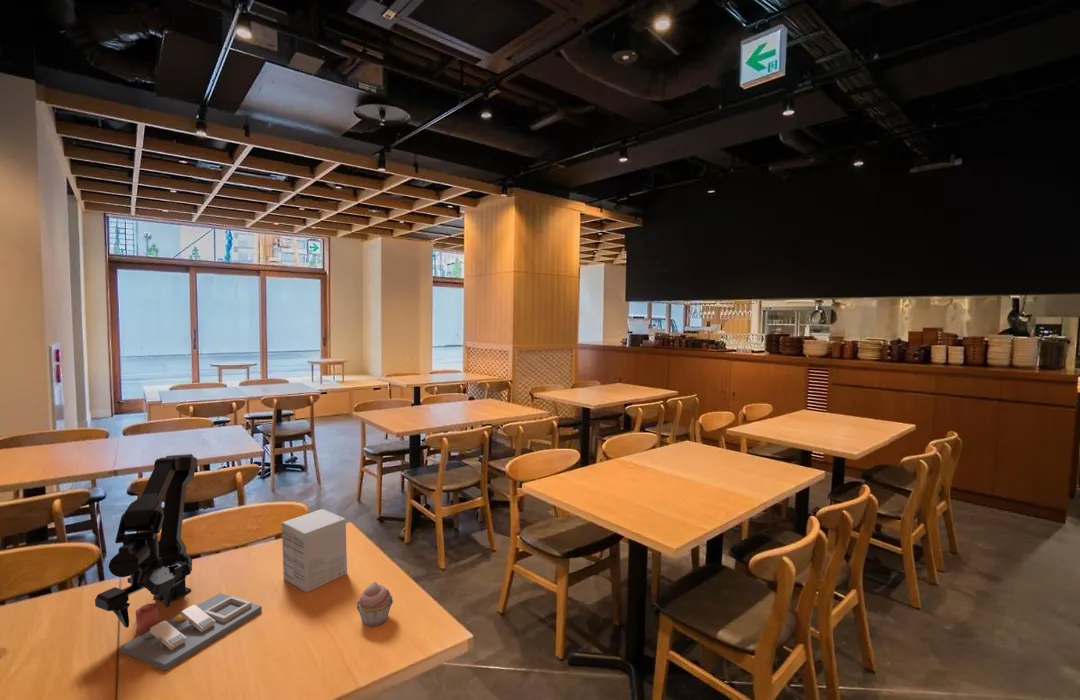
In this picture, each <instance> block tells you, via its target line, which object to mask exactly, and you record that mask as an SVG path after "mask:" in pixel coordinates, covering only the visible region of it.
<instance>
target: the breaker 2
mask: <svg viewBox="0 0 1080 700" xmlns="http://www.w3.org/2000/svg"><path fill="white" fill-rule="evenodd" d="M180 614H181V616H182V617H183V618H185V619H186V620H187V621H188V622H189V623H190V624H192V625H193V626H194V627H196V628H197V629H198V630H199V631H201V632H203V631H205V630H207V629H208V628H210V627H212V626H213V625H215V620H214V619H212V618H211V617H210V616H209V615H207V613H206V612H204V611H202V610H201V609H200V608H199V607H197V605H196V604H192V605H191V606H188V607H187V608H185V609H183V610H181V611H180Z"/></svg>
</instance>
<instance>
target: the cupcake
mask: <svg viewBox="0 0 1080 700" xmlns="http://www.w3.org/2000/svg"><path fill="white" fill-rule="evenodd" d="M393 598H394V596H393V595H391V592H390V590H389V589H388V588H387V587H385V586H384V585H381V584H378V582H376V581H374V582H373V583H369V585H368V586H367V587H365V589H364V591H363V592H362V593H361V594H360V596H359V600H358V601H357V602H355V605H356V610H357V611H358V613H359V616H360V620H361V622H362V624H363V625H364V626H366V627H371V628H373V627H379V626H380V625H382V624H384V623H385V622H386V621H387V620H388V617H389V615H390V614H389V613H390V609H391V607H392V605H393V603H394V600H393Z"/></svg>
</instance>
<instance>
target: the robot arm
mask: <svg viewBox="0 0 1080 700" xmlns="http://www.w3.org/2000/svg"><path fill="white" fill-rule="evenodd" d="M197 468H198V458H197V457H195V456H194V455H193V454H192V453H190V454H188V453H187V454H186V453H185V454H174V455H173V454H171V455H166V456H165V457H159V458H156V459H155V461H154V463H153V470H152V472H151V474H150V476H149V478H148V480H147V482H146V483H145V486H144V488H143V491H142V493H141V495H140V496H139V497H138V498H137V499H135V500H134V501H132V502H131V503H130V504H129V505H128V507H127V508H126V510H125V512H124V513H122V515H121V517H120V520H119V524H118V528H117V533H116V536H115V540H114V543H115V544H122V545H121V546H120V547H119V548H118V553H116V554H115V555H114V556H113V557H112V558H111V559H110V561H109V564H108V570H109V572H110V573H111V575H113V576H115V577H119V578H126V577H128V578H127V583H128V584H130V585H129V586H127V587H125V588H121V589H120V588H119V587H116V586H114V587H111V588H110V589H107V590H104V591H102V592H101V593H98V594H97V595H96V596H95V599H94V606H95V607H97V608H99V609H102V610H104V611H106V612H111V611H112V612H113V613H114V615H115V616H116V617H117V619H118V620H119V621H120V623H121V624H122V625H123V627H124V628H127V629H128V628H129V627H130V617H129V609H128V608H129V606H130V605H131V603H129V602H128V601H130V600H129V599H130V598H129V596H130V595H132V594H135V593H137V592H139V591H141V590H144V589H146V590H147V591H148V592H150V594H151V595H153V598H154V599H157V600H159V601H162V602H163V603H164V606H165V608H169V607H170V605H171V602H172V601H174V600H176V599H177V598H178V599H179V598H180V597H182V596H184V595H186V594H188V593H190V592H192V588H190V587H187V586H186V578H187V576H188V575H191V573H192V571H193V558H192V557H191V556H190V555H189V554H188V553H187V546H186V544H185V542H184V540H183V539H182V530H183V529H182V528H183V520H184V511H185V509H184V508H185V503H186V500H185V499H186V491H187V486H188V484H189V483H190V482H191V480H192V479H193V478H194V476H195V473H196V472H195V471H196V470H197ZM163 502H164V505H163V508H162V503H163ZM126 532H127V533H126ZM159 534H160V537H159Z"/></svg>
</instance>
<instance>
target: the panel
mask: <svg viewBox="0 0 1080 700" xmlns="http://www.w3.org/2000/svg"><path fill="white" fill-rule="evenodd" d="M196 606H197V607H199V608H200V609H201V610H202V611H204V612H206V613H207V615H209V616H210V617H211V618H212V619H214V620H215V625H213V626H212V627H210V628H208V629H207V630H205V631H203V632H201V631H199V630H198V629H197V628H196V627H194V626H193V625H192V624H190V623H189V622H188V621H187V620H186V619H185V618H183V617H182V616H181V613H180V614H178V615H176V616H175V617H173V618H170V619H168V620H166V621H167V622H168V623H169V624H171V625H172V626H173V627H174V628H177V629H178V631H179V632H180V633H181V634H183V635H184V636H185V637H186V642H184V643H183V644H181V645H179V646H177V647H176V648H174V649H172V650H170V649H169V648H168V647H167V646H166V645H164V644H163V643H162V642H161V641H158V639H157V638H156V637H155V636H154V635H153V634H152V633H150V631H148V632H146V633H144V634H140V635H139V636H137V637H134V638H133V639H131V640H129V641H127V642H126V643H123V644H122V645H120V652H121V653H123V654H124V655H127V656H130V657H131V658H134V659H137V660H139V661H141V662H143V663H146V664H148V665H150V666H153V667H155V668H157V669H159V670H162V671H164V672H166V671H168V670H169V669H170V668H173V667H174V666H177V664H179V663H180V662H182V661H184V660H186V659H187V658H189V657H190V656H193V655H194V654H195V653H197V652H199V651H200V650H202V649H203V648H205V647H207V646H208V645H209V644H211V643H213V642H215V641H216V640H218V639H219V638H221V637H223V636H224V635H226V634H228V633H229V632H231V631H232V630H234V629H236V628H238V627H240V626H241V625H242V624H244V623H246V622H247V621H249V620H251V619H252V618H254V617H255V616H257V615H259V614H260V613H262V609H263V607H262V605H259V604H257V603H253V602H252V601H248V600H245V599H243V598H239V597H236V596H233V595H231V596H230V595H228V594H225V593H221V592H219V593H217V594H216V595H214V596H211V597H210V598H208V599H206V600H205V601H202V602H201V603H199V604H197V605H196Z"/></svg>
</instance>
